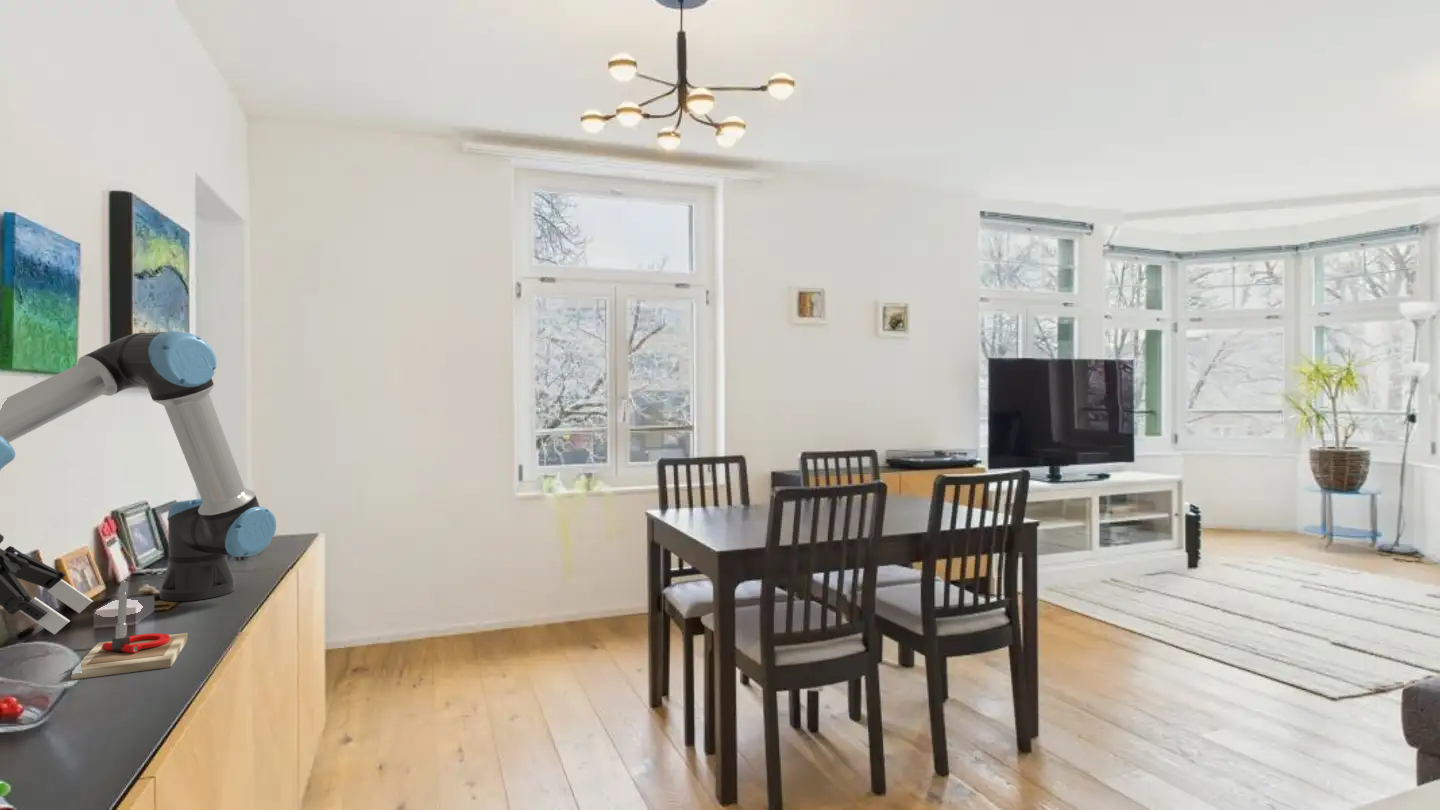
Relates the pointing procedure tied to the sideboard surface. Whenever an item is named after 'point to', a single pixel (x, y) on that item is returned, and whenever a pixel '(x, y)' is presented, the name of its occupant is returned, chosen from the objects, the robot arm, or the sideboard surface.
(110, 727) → the sideboard surface
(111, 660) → the wooden tray
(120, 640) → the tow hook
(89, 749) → the sideboard surface
